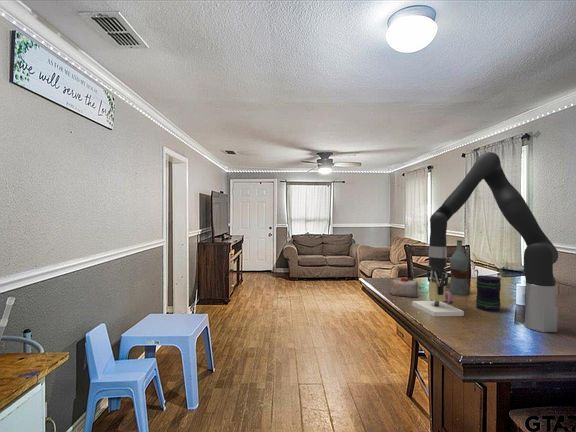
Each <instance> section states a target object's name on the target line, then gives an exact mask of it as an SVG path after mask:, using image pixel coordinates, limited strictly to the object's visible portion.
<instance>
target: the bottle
mask: <svg viewBox="0 0 576 432" xmlns="http://www.w3.org/2000/svg"><path fill="white" fill-rule="evenodd" d="M449 260H450V261H449V268H450V269H449V270H450V278H449V279H450V281H449V285H448V286H449V292H450V293H451V294H452V295H456V296H467V295H468V289H469V285H468V270H469V260H468V257H467V255H466V254H465V252H464V251H463V240H459V239H458V240H456V250H455V251H454V252H453V254H452V255H451V256H450V259H449Z"/></svg>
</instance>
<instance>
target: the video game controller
mask: <svg viewBox="0 0 576 432" xmlns="http://www.w3.org/2000/svg"><path fill="white" fill-rule="evenodd" d="M453 296H454V294H452V293H451V292H450V290H449V291H448V290H446V289H445V301H443V303H446V302H447V304H448V305H450V304H451V302H452V298H453ZM429 301H433V300H431V299H429Z"/></svg>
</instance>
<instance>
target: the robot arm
mask: <svg viewBox="0 0 576 432" xmlns="http://www.w3.org/2000/svg"><path fill="white" fill-rule="evenodd" d="M501 163H502V161H501V159H500V156H499V155H498V154H497V153H495V152H491V151H488V152H484V153H482V154H480V155H478V157H477V158H476V159H475V162H474V163H473V165H472V167H471V168H470V169H469V172H467V174H466V175H465V177H464V178H463V179H462V181H461V182H460V183H459V184H458V185H457V186H456V187H455V188H454V190H453V191H452V193H450V195H449V196H448V197H447V198H446V199H445V200H444V201H443V203H442V204H441V206H439V208H437V209H436V211H434V213H432V215H431V216H430V218H429V224H430V227H429V229H430V235H429V247H428V266H429V267H430V268H426V276H427V277H426V278H427V282H428V283H429V281H437V282H438V295H443V293H444V286H446V287H447V286H448V283H449V279H450V278H449V277H450V273H448V272H446V271H445V268H447V263H448V261H447V260H448V259H447V258H448V256H447V255H448V253H447V252H448V250H447V229H448V222H449V221H450V219H451V218H452V217H453V216H454V214H456V213H457V212H459V210H460V209H461V208H462V207H463V206H464V204H465V203H466V202H468V200H469V198H470V197H471V196H472V194H473V192H474V191H475V189H476V188H477V187H478V185H479V184H480V183H481V182H482V181H484V182H485V183H486V184H487V186H488V187H489V189H490V191H491V193H492V195H493V198H494V201H495V202H496V204H497V207H498V208H499V210H500V212H501V214H502V215H503V217H504V219H505V220H506V221H507V222H508V224H510V225H511V226H512V228H513V229H514V230H515V231H516V232H517V233H518V234H520V237H522V239H523V241H524V242H525V244H526V248H525V249H524V252H523V275H524V277H525V302H524V304H525V305H524V306H525V307H524V308H525V309H524V326H525V327H526V328H527V329H530V330H533V331H537V332H541V333H557V332H558V319H559V318H558V313H559V312H558V311H559V309H558V306H556V282H557V281H556V278H555V277H554V270H553V267H554V264H556V262H558V260H559V251H558V249H557V248H556V246H555V245H554V244H553V242H551V240H550V239H549V238H548V236H547V235H546V234H545V233H544V232H543V230H542V229H541V227H540V225H539V223H538V221H537V219H536V217H535V215H534V214H533V212H532V211H531V209H530V207H529V205H528V203H527V201H526V200H525V198H524V197H523V196H522V195H521V193H520V192H519V191H518V190H517V189H516V188H515V186H513V184H512V183H510V181H509V180H508V178H507V176H506V174H505V172H504V170H503V167H502V164H501ZM440 282H441V284H440Z"/></svg>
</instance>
